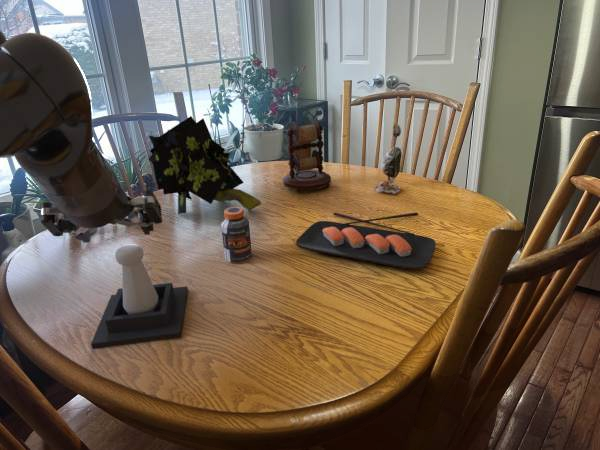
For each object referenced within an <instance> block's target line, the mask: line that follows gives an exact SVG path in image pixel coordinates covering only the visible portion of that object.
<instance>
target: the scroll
mask: <svg viewBox="0 0 600 450" xmlns="http://www.w3.org/2000/svg"><path fill="white" fill-rule="evenodd" d="M323 130H324V127H323V125H321V124H320V122H319V121H318V120H317V119H316V118H314V119H312V120H311V123H310V125H302V126H298V123H296V122H295V121H293V122H291V124H290V128H289V129H287V131H286V135H287V138H288V140H287V144H288V145H287V147H286V151H287V152H288V154H289V155H288V160H289V161H288V163H287V164H288V166H289V168H288V169H289V173H287V174H286V175H284V176H283V177H282V184H283V186H284V187H286V188H289V189H292V190H296V192H297V193H298V194H301V192H302V191H304V190H305V191H306V190H307V191H309V190H318V189H322V188H325V187H326V188H327V189H328V188H329V187H330V184H331V182H332V176H331V174H329V173H327V172H325V171H323V170H324V166H323V164H324V163H323V161H324V156H323V147H324V145H325V143H324V141H323V135H322V134H323ZM316 147H317V149H318V150H317V149H313V150H312V148H316Z"/></svg>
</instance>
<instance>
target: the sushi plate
mask: <svg viewBox="0 0 600 450" xmlns="http://www.w3.org/2000/svg"><path fill="white" fill-rule="evenodd" d="M332 214H333V216H336V217H340V218H344V219H347V220H352V221H351V222H344V223H343V222H338V221H337V222H336V221H331V220H330V221H329V220H319V221H316V222H314V223H312V224H311V225H310V226H309V227H308V228H307V229H306V230H305V231H303V232H302V234H301V235H299V237H298V238H297V239H296V241H295V245H296V246H297V247H298V248H300V249H304V250H308V251H312V252H317V253H322V254H327V255H333V256H339V257H342V258H343V257H344V258H349V259H354V260H359V261H365V262H370V263H376V264H380V265H386V266H390V267H391V266H392V267H397V268H401V269H402V268H403V269H409V270H423V269H425V268H427V266H428V265H429V263H430V262H431V259H432V258H433V255H434V252H435V250H436V246H437V243H436V240H435V239H434V238H431V237H428V236H424V235H419V234H416V233H413V232H410V231H405V230H402V229H399V228H395V227H391V226H387V225H382V224H380V223H375V221H384V220H392V219H399V218H406V217H414V216H418V215H419V212H409V213H403V214H396V215H390V216H384V217H377V218H370V219H361V218H357V217H354V216H350V215H347V214H343V213H339V212H333V213H332ZM360 223H363V224H364V223H365V224H369V225H373V226H376V227H381V228H375V227H369V226H363V225H356V224H360ZM382 228H384V229H382ZM388 229H389V230H388Z"/></svg>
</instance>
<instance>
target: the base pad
mask: <svg viewBox="0 0 600 450" xmlns="http://www.w3.org/2000/svg"><path fill="white" fill-rule="evenodd" d="M153 286H154V288H155V291H156V293H157V295H158V303H157V306H156V309H155V311H154V312H148V313H139V314H131V315H129V314H128V313H127V312H126V310H125V309H124V307H123V287H122V288H118V289H117V291H116V294H111V295H110V298H109V300H108V303H107V305H106V308H105V310H104V312H103V314H102V317H101V319H100V321H99V323H98V325H97V328H96V331H95V333H94V335H93V337H92V339H91V343H90V346H91V349H100V348H108V347H115V346H116V347H117V346H124V345H130V344H139V343H146V342H147V343H148V342H155V341H162V340H163V341H164V340H170V339H178V338H182V334H183V327H184V322H185V321H184V320H185V313H186V309H187V308H186V307H187V299H188V293H189V288H188V286H178V287H174V286H173V282H167V283H166V282H165V283H158V284H153Z"/></svg>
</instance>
